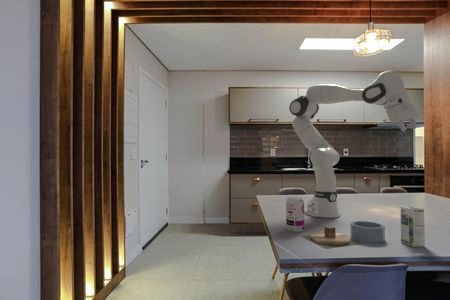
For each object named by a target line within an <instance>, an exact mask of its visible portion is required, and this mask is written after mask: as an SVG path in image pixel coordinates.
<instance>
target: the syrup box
mask: <svg viewBox="0 0 450 300" xmlns="http://www.w3.org/2000/svg"><path fill="white" fill-rule="evenodd" d="M399 208H400V244H404V245H406V246H409V247H411V248H415V247H416V248H420V247H425V245H426V243H425V241H426V239H425V237H426V236H425V233H426V232H425V231H426V230H425V208H421V207H418V206H417V207H416V206H413V205H401V206H400V207H399Z"/></svg>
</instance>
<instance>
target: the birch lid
mask: <svg viewBox="0 0 450 300" xmlns="http://www.w3.org/2000/svg"><path fill="white" fill-rule="evenodd" d="M323 227H324V228H323V229H324V231H316V232H312V233H311V234H310V235H311V240H313V241H314V242H317V243H320V244H324V245H331V246H342V245H347V244H349V243H350V239H351V238H350V237H351V236H348V235H346V234H344V233H340V232H336V227H335V226H332V225H325V226H323Z"/></svg>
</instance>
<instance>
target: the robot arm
mask: <svg viewBox="0 0 450 300" xmlns="http://www.w3.org/2000/svg"><path fill="white" fill-rule="evenodd" d="M352 101H353V102H365V103H366V104H370V105H377V106H383V108H384V110H385V112H386V115H387V117H388V119H389V122H390V123H392V124H396V125H397V126H398V128H400V131H401V132H404V131H407V126H405V124H404V122H407V121H408V122H409V124H410V129H411V130H415V129H417V125H416V122H417V121H416V119H418V118H419V113H418V111H417V109H416V106H415V105H414V104H413V103H412V102H411V101H412V100H411V99H410V96H409V93H408V90H406V89H405V83H404V79H402V76H401V74H400V72H398V71H397V70H395V69H394V70H392V69H390V70H385V71H383V72H381V73H380V74H378V76H377V78H376V79H375V80H374V81H372V83H370V84H369V85H367V86H366V87H365V88H364V89H358V88H357V89H356V88H355V89H353V88H348V87H345V86H342V85H341V86H340V85H337V84H330V83H329V84H328V83H326V84H324V83H322V84H316V85H312V86H309V88H308V89H306V94H305V95H300V96H299V97H297V98H295V99H293V100H292V101H291V102H290V104H289V112H290V113H291V115H293V116H295V118H294V119H293V120H292V122H291V123H292V125H291V126H292V128H293V130H294V132H295V133H296V135H297V137H298V138H299V140H300V141H301V142H302V144H303V145H304V147H305V148H306V149H308V150H309V151H310V152H311V153H310V156H309V158H310V162H311V163H312V167H313V170H314V171H313V172H314V175H315V191H313V194H314V195H313V197H312V198H311V199H310V200H309V201H308V202H307V205H306V206H307V208H304V214H307V215H309V216H310V217H315V218H316V217H318V218H331V219H332V218H339V217H340V215H341V212H340V207H339V199H337V198H338V191H337V177H336V174H335V171H334V167H333V166H335V165H337V164H338V162H339V161H340V154H339V152H338V151H337V150H336V149H334V147H333V146H332V145H331V144H330V143H329V142H328V141H327V140H326V139H325V138H324V137H323V136H322V135H321V134H320V132H319V131H318V129H317V128H316V127H315V126H314V124H313V123H312V122H311V120H313V119H314V117H315V116H316V114H317V113H318V112H319V109H320V106H319V105H320V104H321V105H331V104H333V105H334V104H338V103H344V102H352Z"/></svg>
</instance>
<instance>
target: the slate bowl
mask: <svg viewBox="0 0 450 300" xmlns="http://www.w3.org/2000/svg"><path fill="white" fill-rule="evenodd" d="M385 234H386V233H385V225H383V224H382V223H378V222H375V221H367V220H357V221H354V220H353V221H352V222H350V237H351V239H352V240H355V241H357V242H359V241H360V242H363V243H370V244H371V243H374V244H377V243H383V242H384V241H385V238H386V235H385Z"/></svg>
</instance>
